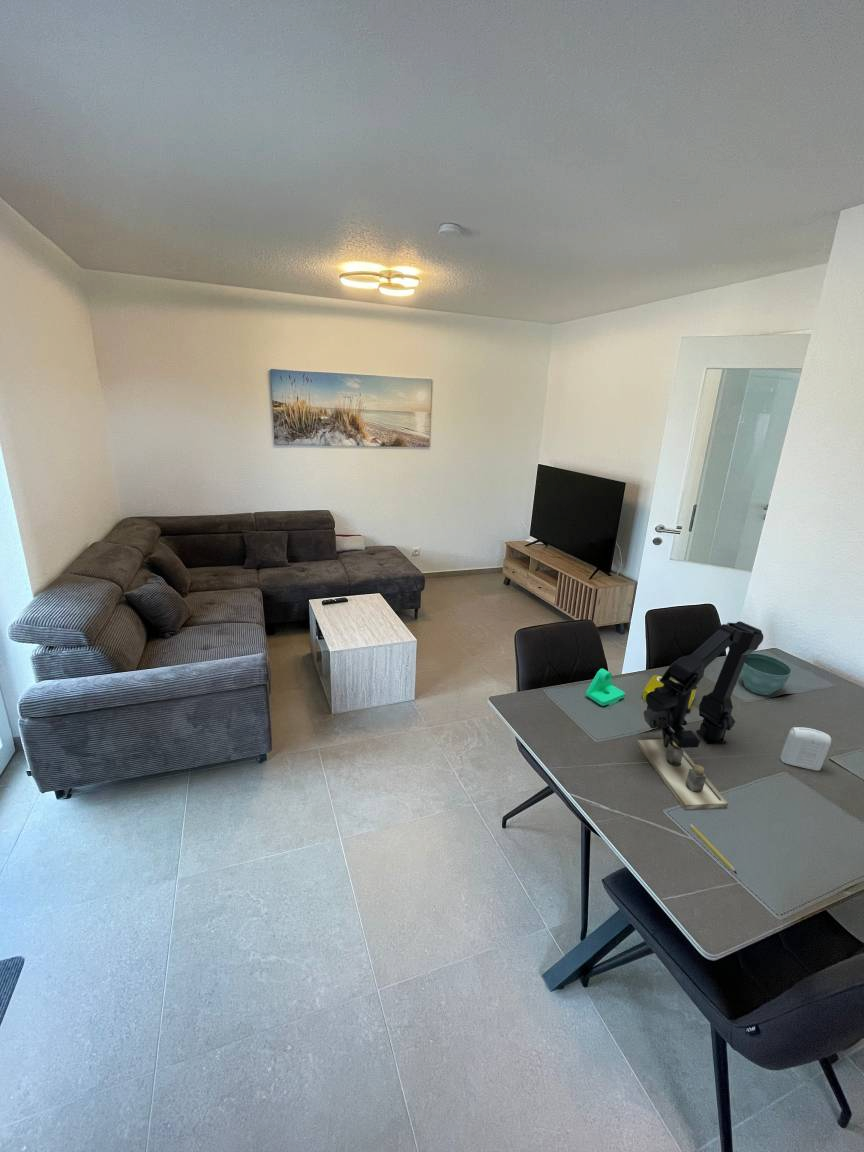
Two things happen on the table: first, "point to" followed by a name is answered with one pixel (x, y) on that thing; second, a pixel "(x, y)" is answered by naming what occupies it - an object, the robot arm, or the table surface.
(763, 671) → the flower pot
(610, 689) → the camera mount
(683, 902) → the table surface
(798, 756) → the photo printer
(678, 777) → the bolt plate
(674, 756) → the sliding leg
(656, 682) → the element tile
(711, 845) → the pencil
